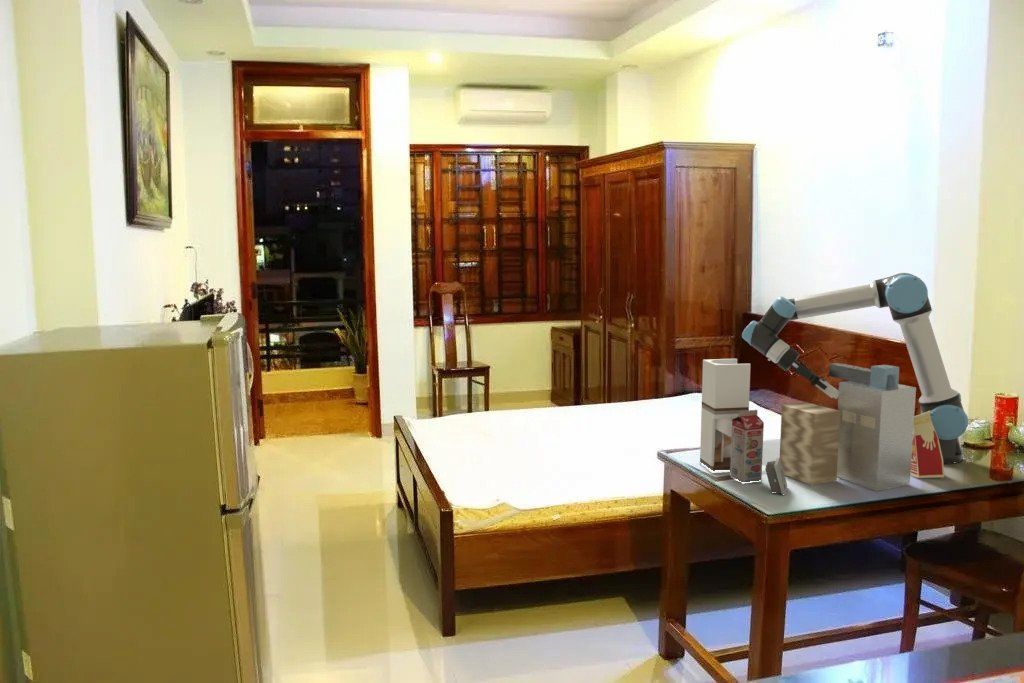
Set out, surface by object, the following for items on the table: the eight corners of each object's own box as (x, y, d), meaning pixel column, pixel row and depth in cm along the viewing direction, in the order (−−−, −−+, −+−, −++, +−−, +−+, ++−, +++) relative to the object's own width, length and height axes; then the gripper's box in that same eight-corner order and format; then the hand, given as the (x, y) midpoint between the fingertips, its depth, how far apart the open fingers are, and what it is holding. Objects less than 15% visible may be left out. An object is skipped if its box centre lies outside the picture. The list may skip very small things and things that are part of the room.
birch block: (778, 472, 256) (781, 405, 253) (802, 468, 260) (805, 402, 257) (811, 485, 243) (815, 414, 240) (836, 480, 247) (840, 410, 244)
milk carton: (937, 469, 255) (932, 407, 253) (945, 477, 246) (941, 413, 244) (906, 470, 257) (901, 409, 256) (913, 478, 249) (908, 415, 247)
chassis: (833, 476, 252) (838, 382, 248) (866, 470, 257) (872, 378, 253) (875, 491, 237) (881, 391, 233) (909, 484, 243) (916, 387, 239)
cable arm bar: (826, 376, 257) (827, 358, 256) (840, 375, 260) (841, 356, 259) (883, 388, 237) (884, 368, 237) (898, 386, 240) (899, 367, 239)
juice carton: (730, 478, 250) (732, 409, 247) (748, 475, 253) (750, 407, 250) (743, 484, 244) (745, 413, 241) (761, 481, 246) (764, 411, 243)
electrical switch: (785, 496, 233) (783, 465, 232) (766, 496, 235) (764, 465, 234) (787, 487, 242) (785, 457, 241) (769, 486, 244) (767, 456, 243)
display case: (712, 473, 255) (716, 365, 250) (699, 463, 266) (702, 359, 261) (746, 471, 257) (750, 363, 252) (732, 462, 267) (736, 358, 262)
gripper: (782, 366, 283) (832, 404, 275) (770, 362, 261) (825, 403, 252) (795, 349, 282) (847, 387, 273) (785, 344, 259) (841, 385, 251)
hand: (836, 395), depth 263 cm, fingers open, 13 cm apart
